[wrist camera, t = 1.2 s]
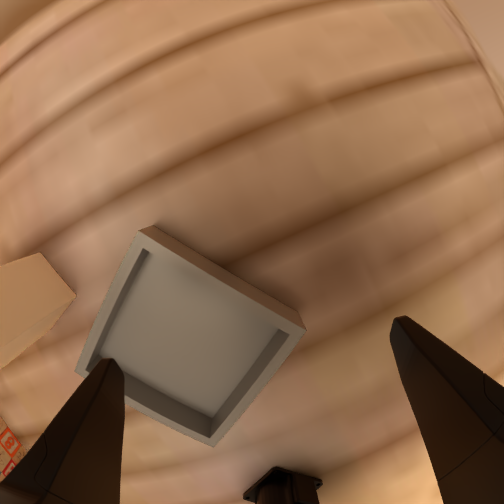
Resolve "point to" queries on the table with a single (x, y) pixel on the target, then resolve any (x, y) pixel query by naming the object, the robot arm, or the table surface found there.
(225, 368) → the grey square tray
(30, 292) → the cream block
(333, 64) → the table surface
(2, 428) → the stack of blocks
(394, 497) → the table surface
